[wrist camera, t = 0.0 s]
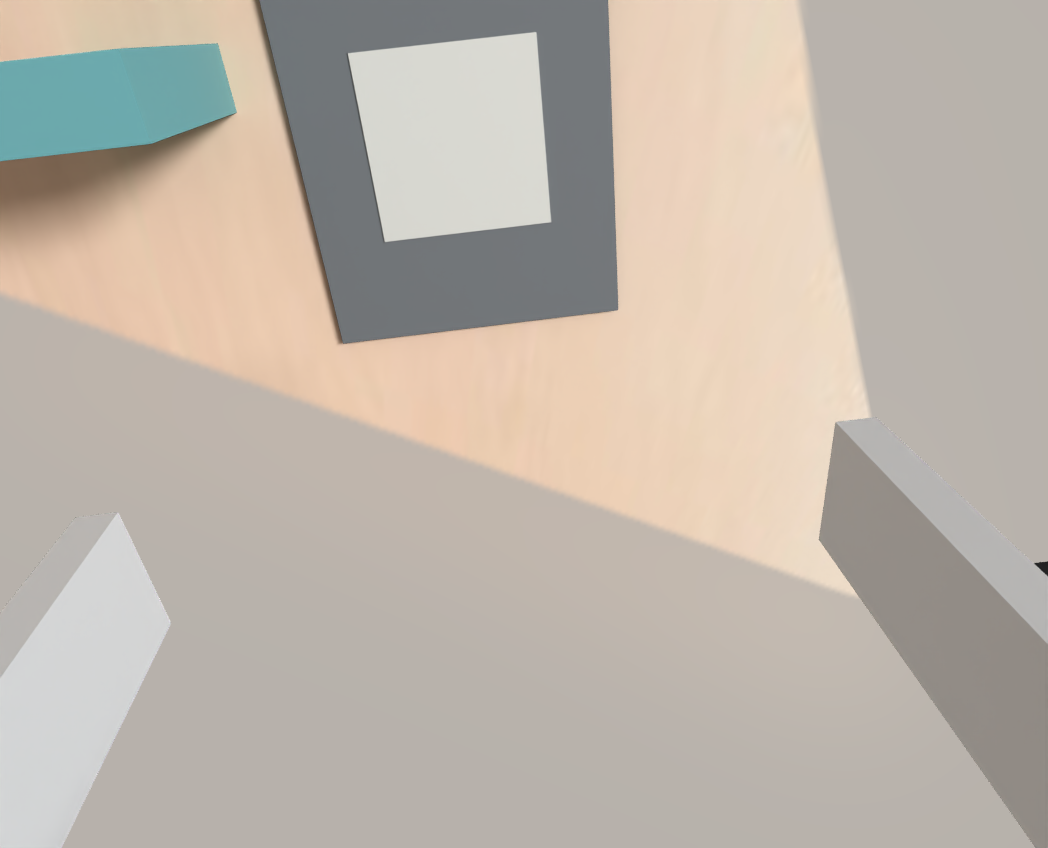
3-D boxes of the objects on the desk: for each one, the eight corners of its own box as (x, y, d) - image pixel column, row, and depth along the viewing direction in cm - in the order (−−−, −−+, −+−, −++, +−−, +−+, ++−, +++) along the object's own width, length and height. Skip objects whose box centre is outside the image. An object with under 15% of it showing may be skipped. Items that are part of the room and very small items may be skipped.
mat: (242, -79, 31) (239, -81, 30) (602, -119, 31) (604, -120, 31) (344, 340, 41) (342, 344, 40) (616, 307, 41) (618, 310, 41)
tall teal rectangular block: (67, 59, 33) (-94, 70, 23) (217, 42, 33) (118, 46, 23) (94, 129, 34) (-47, 168, 25) (237, 113, 35) (151, 145, 25)
